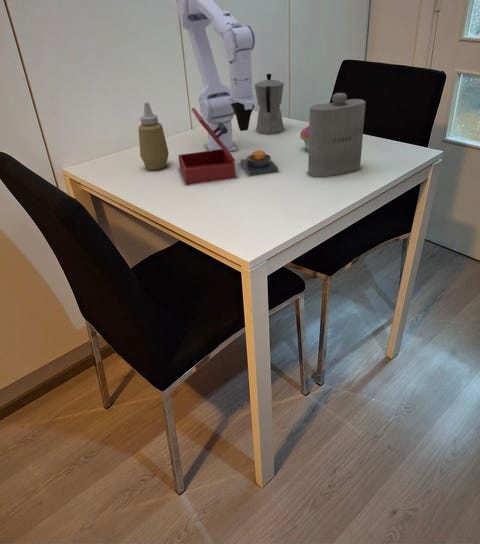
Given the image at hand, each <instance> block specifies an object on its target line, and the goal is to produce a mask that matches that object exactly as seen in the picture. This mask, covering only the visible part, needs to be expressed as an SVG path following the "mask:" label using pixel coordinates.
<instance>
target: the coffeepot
mask: <svg viewBox="0 0 480 544" xmlns="http://www.w3.org/2000/svg"><path fill="white" fill-rule="evenodd" d="M265 76H266V79H264V80H259V81H258V82H256V83H254V84H253V85H254V88H255V95H256V101H257V105H258V107H259V110H258V114H257V121H256V130H255V131H257V132H258V133H259V134H264V135H274V134H279V133H281V132H283V130H284V129H285V127H284V121H283V115H282V110H281V104H282V101H283V94H284V93H283V92H284V85H285V82H283V81H281V80H277V79H272V74H271V73H267V74H265Z"/></svg>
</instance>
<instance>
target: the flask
mask: <svg viewBox="0 0 480 544" xmlns="http://www.w3.org/2000/svg"><path fill="white" fill-rule="evenodd" d="M331 98H332V99H331V102H327V103H318V104H317V103H316V104H312V105H311V106H310V107H309V123H308V124H309V125H308V126H309V151H308V163H307V164H308V166H307V170H308V171H307V173H308V175H309V176H311V177H315V178H323V177H324V178H325V177H331V176H339V175H344V174H348V173H352V172H355V171H357V170H359V169H360V168H361V163H362V162H361V160H362V149H363V137H364V127H365V125H364V124H365V115H366V101H365V100H364V99H361V98H350V99H348V95H347V94H346V93H345V92H335V93H334V94H333V95H332V96H331Z"/></svg>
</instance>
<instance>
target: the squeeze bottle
mask: <svg viewBox="0 0 480 544" xmlns="http://www.w3.org/2000/svg"><path fill="white" fill-rule="evenodd" d="M139 119H140V123H141V124H140V125H139V126H138V139H139V140H138V141H139V156H140V159H141V160H142V163H143V164H144V166H145V168H146V169H147V170H150V171H151V170H153V171H156V170H161V169H164V168H166V167H167V164H168V159H169V155H170V152H169V149H168V144H167V140H166V136H165V131H164V127H163V124H161V122H159V118H158V115H157V114H154V113H153V110H152V107H151V105H150V103H149V101H148V102H147V101H146V102H144V105H143V115H141V116H140V118H139Z"/></svg>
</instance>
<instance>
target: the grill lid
mask: <svg viewBox="0 0 480 544" xmlns="http://www.w3.org/2000/svg"><path fill="white" fill-rule="evenodd" d="M191 111H192V113H193V114H194V116H195V118H196V119H197V121H198V123H200V124H201V126H202V127H203V128H204V129H205V131H206V132H207V134H208V133H209V134H210V135H211V136H212V138H213V139H214V140H215V141H216V142H217V144H218V145H219V146H220V147H221V148H222V150H223V151H224V152H225V153H226V154H227V156H228V157H229V158H230V159H231V160H232V161H233V162H234V163H235V162H236V159H235V157H234V155H232V153H231V151H229V150H228V149H227V147H226V146H225V145H224V143H223V142H222V141H221V140H220V139H219V137H220V136H221V135H222V134H226V133H227V132H228V130H227V128H226V127H225V125H224V124H223V123H219V124H218V127H217V128H216V129H215V130H214V131H213V130H212V129H211V128H210V127H209V125H208V122H207V121H206V120H204V119H203V117H202V115H201V113H199V112H198V111H197V109H195V107H193V108H191ZM219 130H221V132H220V133H218V134H217V135H216V133H217V132H218V131H219Z"/></svg>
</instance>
